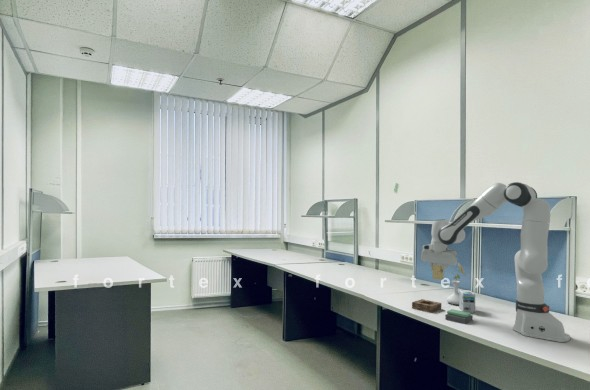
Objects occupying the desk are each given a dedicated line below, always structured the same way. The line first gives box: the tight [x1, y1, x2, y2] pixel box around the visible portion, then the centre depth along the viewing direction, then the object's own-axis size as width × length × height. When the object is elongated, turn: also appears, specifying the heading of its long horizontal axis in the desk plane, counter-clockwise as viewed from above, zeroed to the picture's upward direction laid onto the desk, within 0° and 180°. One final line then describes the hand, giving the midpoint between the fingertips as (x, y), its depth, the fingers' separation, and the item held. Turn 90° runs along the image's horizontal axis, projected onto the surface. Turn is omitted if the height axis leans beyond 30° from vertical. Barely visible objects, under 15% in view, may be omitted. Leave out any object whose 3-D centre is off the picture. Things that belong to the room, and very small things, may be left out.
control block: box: [445, 313, 474, 325], centre depth 196 cm, size 10×10×2 cm
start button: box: [446, 308, 472, 317], centre depth 196 cm, size 10×6×3 cm, turn 44°
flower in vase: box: [445, 262, 466, 306], centre depth 232 cm, size 13×11×25 cm
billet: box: [432, 263, 445, 281], centre depth 214 cm, size 4×4×8 cm
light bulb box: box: [458, 289, 476, 314], centre depth 215 cm, size 11×7×11 cm, turn 168°
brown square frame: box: [411, 298, 442, 313], centre depth 217 cm, size 12×12×4 cm
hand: (438, 271), depth 214 cm, fingers closed on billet, 4 cm apart
